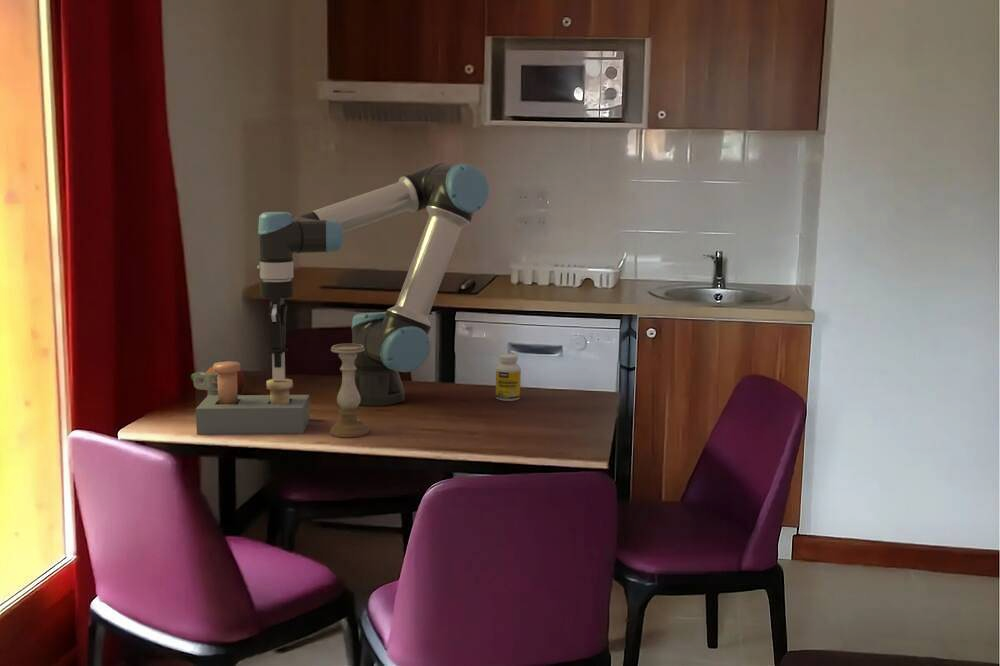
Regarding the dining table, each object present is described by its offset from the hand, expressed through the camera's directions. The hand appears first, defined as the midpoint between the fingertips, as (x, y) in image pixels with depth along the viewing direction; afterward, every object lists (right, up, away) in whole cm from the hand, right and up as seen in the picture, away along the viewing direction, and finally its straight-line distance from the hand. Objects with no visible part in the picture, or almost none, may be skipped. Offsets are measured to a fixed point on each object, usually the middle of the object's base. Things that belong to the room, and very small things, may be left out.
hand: (278, 380), depth 238 cm
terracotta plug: (-12, -6, 0) cm, 13 cm away
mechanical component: (-19, -9, +13) cm, 25 cm away
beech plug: (0, -10, +2) cm, 10 cm away
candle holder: (+17, -12, -3) cm, 21 cm away
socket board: (-6, -11, +2) cm, 13 cm away
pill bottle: (+54, -7, +31) cm, 63 cm away
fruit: (-20, -6, +29) cm, 36 cm away
